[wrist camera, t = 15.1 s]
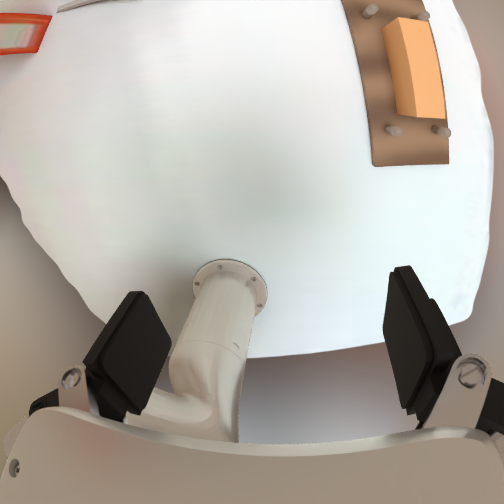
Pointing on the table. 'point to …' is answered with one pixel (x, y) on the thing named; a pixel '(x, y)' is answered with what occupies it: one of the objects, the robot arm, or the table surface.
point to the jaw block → (414, 68)
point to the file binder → (22, 32)
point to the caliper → (74, 5)
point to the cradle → (392, 89)
